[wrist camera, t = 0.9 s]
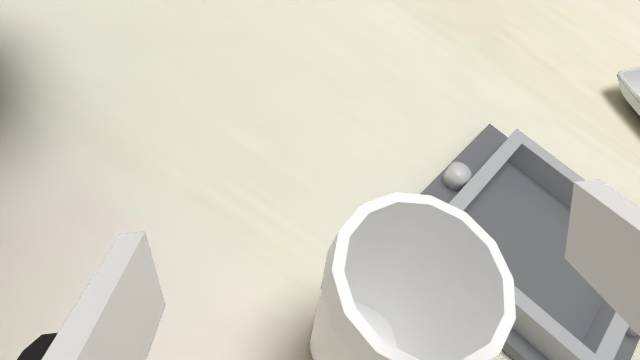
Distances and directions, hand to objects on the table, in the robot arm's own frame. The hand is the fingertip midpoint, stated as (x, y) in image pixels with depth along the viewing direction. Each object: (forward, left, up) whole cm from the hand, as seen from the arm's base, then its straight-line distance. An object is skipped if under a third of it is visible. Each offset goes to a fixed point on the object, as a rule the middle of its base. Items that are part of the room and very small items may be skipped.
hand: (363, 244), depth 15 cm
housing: (+8, +23, -21) cm, 32 cm away
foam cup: (+2, +6, -21) cm, 22 cm away
